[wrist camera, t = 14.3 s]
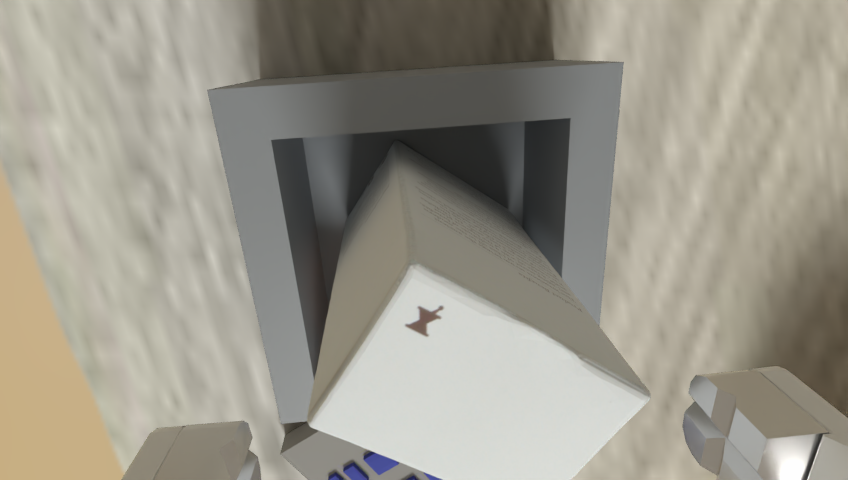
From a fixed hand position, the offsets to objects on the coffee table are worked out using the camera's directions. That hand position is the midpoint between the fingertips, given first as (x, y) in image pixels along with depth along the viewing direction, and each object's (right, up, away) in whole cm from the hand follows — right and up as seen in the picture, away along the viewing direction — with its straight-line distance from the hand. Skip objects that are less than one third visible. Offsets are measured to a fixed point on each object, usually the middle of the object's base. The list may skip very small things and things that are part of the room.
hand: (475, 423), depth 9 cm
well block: (-1, +5, +13) cm, 14 cm away
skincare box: (-1, +4, +12) cm, 13 cm away
